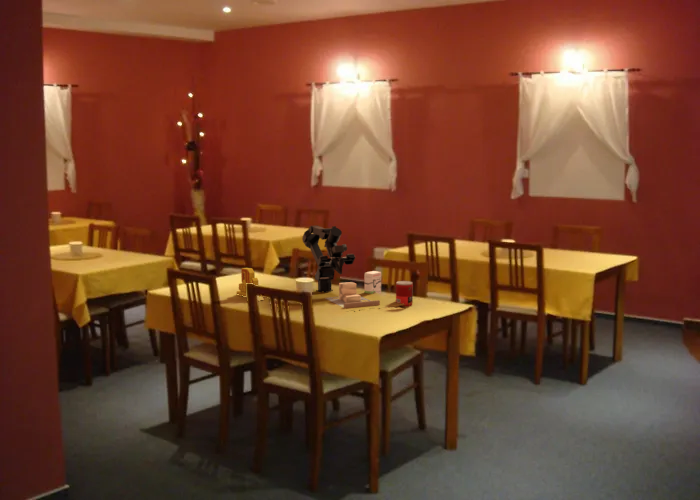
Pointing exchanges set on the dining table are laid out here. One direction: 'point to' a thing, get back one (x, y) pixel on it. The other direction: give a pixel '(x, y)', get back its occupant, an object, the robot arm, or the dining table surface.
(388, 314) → the dining table surface
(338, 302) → the board
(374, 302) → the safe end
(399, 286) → the canned food
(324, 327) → the dining table surface
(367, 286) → the ink box
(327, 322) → the dining table surface
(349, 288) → the birch block
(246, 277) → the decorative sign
